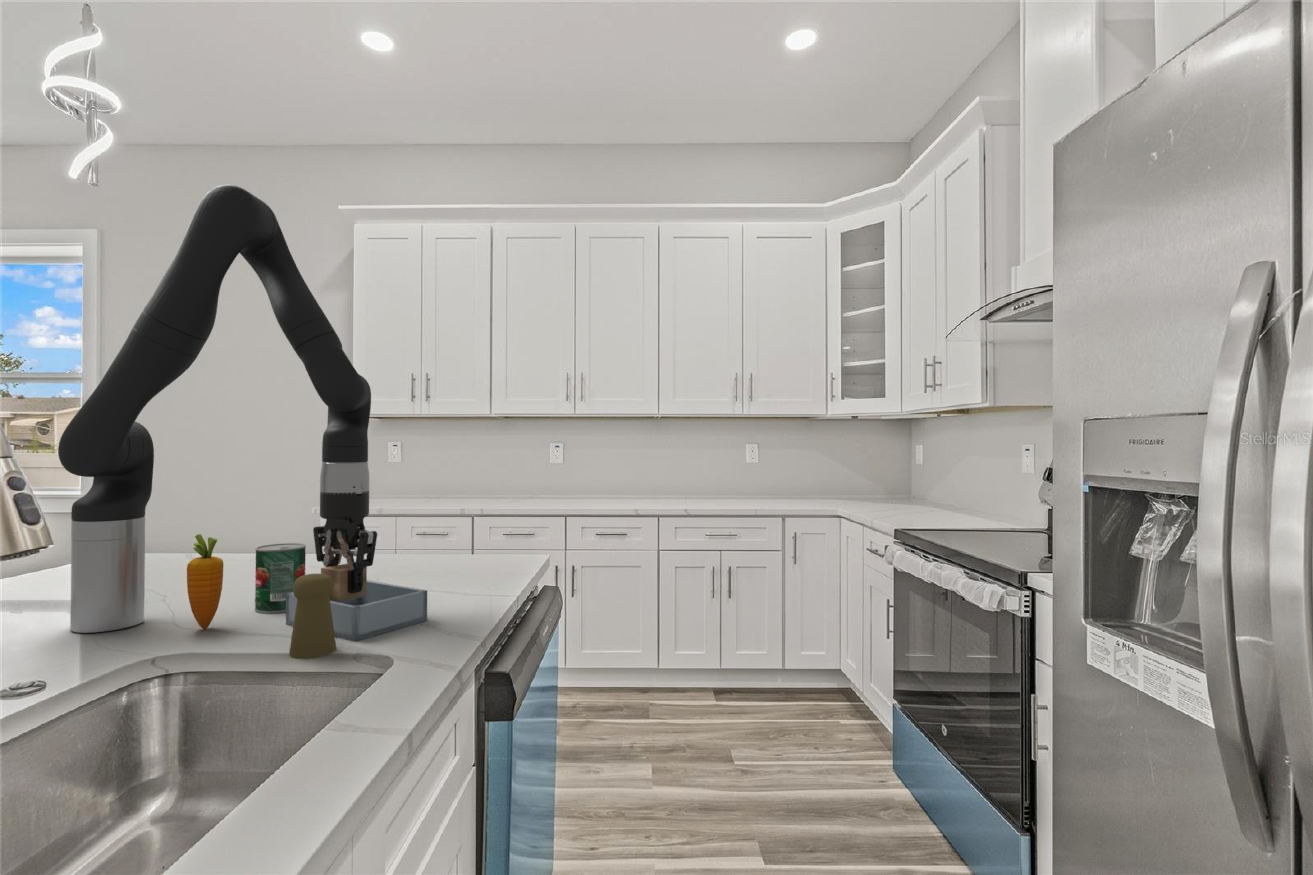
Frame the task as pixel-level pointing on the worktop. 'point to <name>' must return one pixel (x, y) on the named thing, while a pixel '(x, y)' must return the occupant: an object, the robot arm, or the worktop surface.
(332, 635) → the cork
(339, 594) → the walnut cube
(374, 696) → the worktop surface
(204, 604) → the carrot
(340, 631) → the tote
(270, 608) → the canned tomato
